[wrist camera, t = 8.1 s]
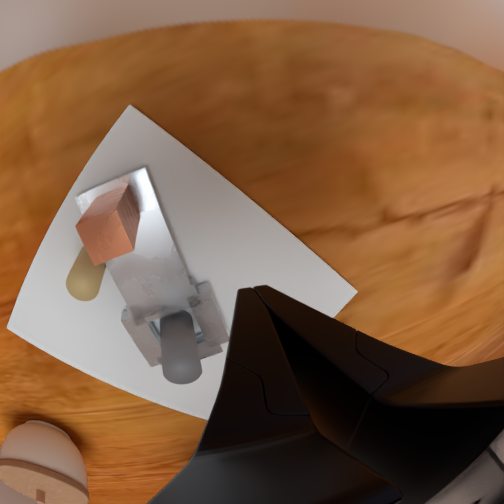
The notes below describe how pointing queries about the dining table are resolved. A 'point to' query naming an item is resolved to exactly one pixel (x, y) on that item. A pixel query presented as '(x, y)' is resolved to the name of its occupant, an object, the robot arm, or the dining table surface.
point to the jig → (194, 259)
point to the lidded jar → (43, 464)
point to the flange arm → (145, 262)
